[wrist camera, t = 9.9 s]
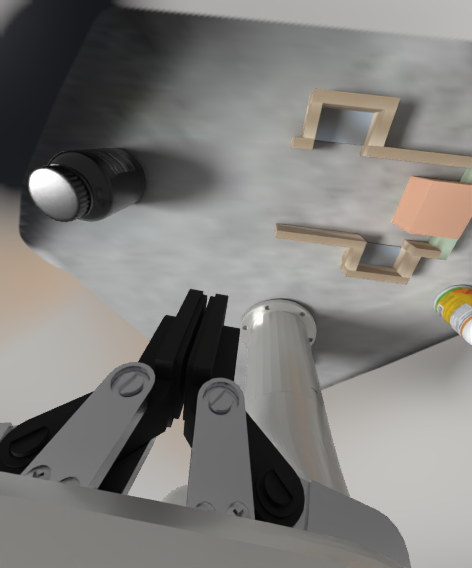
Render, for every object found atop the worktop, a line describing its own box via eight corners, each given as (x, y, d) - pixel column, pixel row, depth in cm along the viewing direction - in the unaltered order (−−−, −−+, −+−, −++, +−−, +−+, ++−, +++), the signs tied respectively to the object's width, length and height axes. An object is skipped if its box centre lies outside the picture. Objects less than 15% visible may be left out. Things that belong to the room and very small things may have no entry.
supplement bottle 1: (85, 156, 31) (-4, 162, 21) (133, 141, 30) (63, 139, 19) (111, 210, 34) (45, 238, 24) (155, 198, 33) (105, 224, 22)
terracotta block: (434, 227, 31) (458, 239, 27) (390, 222, 31) (408, 233, 28) (458, 181, 29) (489, 187, 25) (410, 176, 29) (433, 180, 25)
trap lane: (417, 276, 35) (429, 287, 32) (269, 257, 35) (270, 266, 33) (504, 115, 25) (532, 112, 22) (300, 93, 26) (304, 87, 23)
